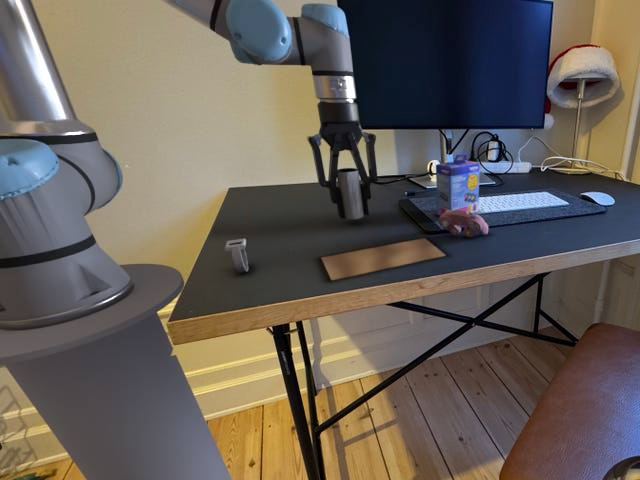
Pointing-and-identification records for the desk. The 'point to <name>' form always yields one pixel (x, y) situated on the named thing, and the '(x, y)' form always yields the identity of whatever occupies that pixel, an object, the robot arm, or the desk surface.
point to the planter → (350, 192)
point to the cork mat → (379, 258)
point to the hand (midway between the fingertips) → (353, 215)
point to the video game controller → (463, 222)
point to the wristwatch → (238, 254)
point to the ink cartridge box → (457, 185)
